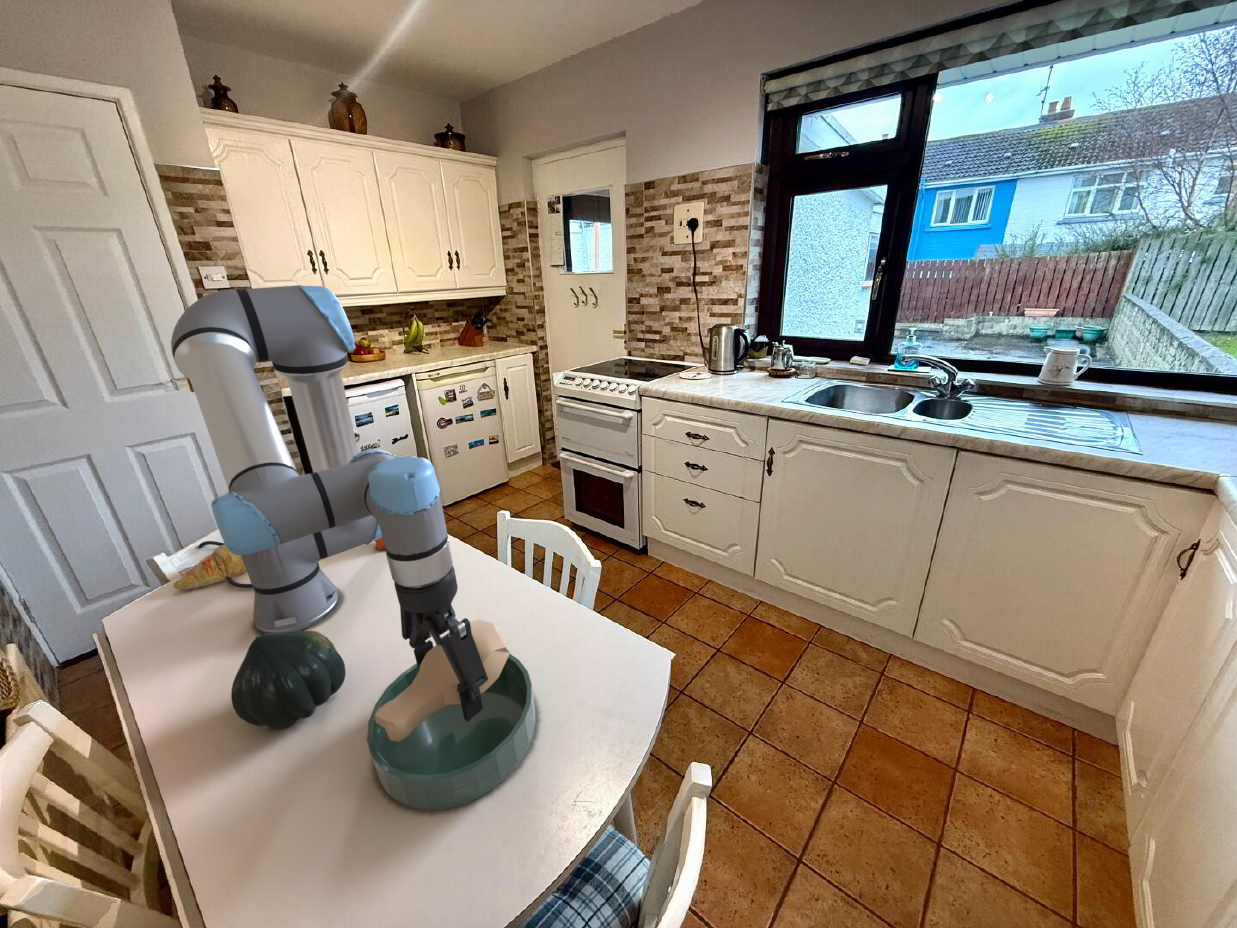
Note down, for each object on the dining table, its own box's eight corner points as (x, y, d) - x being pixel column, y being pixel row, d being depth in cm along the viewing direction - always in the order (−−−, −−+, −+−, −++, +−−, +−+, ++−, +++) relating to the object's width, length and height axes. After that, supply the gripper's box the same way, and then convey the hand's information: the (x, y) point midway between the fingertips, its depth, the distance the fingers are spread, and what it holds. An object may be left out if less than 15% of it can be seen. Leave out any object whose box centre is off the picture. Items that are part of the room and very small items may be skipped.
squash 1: (359, 686, 77) (318, 603, 79) (249, 753, 68) (205, 656, 70) (353, 690, 88) (317, 617, 90) (257, 748, 79) (219, 665, 80)
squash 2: (526, 670, 77) (521, 636, 72) (412, 774, 65) (395, 742, 59) (485, 632, 83) (477, 597, 78) (372, 721, 70) (353, 687, 65)
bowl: (347, 745, 74) (336, 717, 71) (474, 651, 91) (469, 626, 88) (436, 849, 60) (427, 819, 58) (566, 716, 77) (563, 689, 75)
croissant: (187, 610, 109) (181, 590, 104) (163, 581, 112) (156, 560, 107) (286, 561, 125) (285, 542, 120) (264, 537, 128) (261, 517, 123)
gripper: (502, 589, 60) (521, 716, 69) (404, 534, 73) (430, 647, 82) (450, 623, 55) (478, 756, 63) (354, 557, 68) (388, 675, 76)
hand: (451, 695), depth 73 cm, fingers closed on squash 2, 10 cm apart
